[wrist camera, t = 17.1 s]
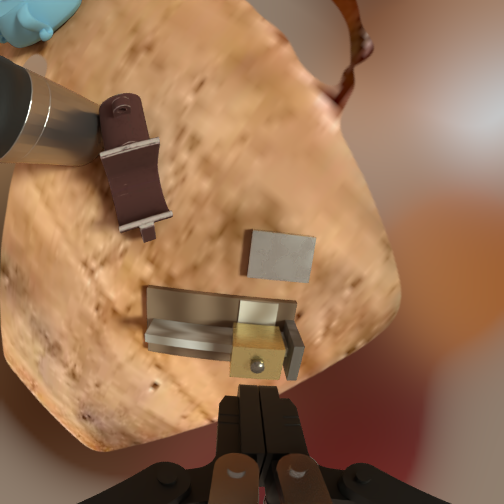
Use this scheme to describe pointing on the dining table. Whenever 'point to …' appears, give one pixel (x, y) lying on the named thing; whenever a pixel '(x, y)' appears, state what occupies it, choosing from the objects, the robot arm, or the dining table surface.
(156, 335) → the rail
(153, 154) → the bracket
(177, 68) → the dining table surface
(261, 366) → the block with knob
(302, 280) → the gray metal plate
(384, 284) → the dining table surface
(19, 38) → the decorative pot
